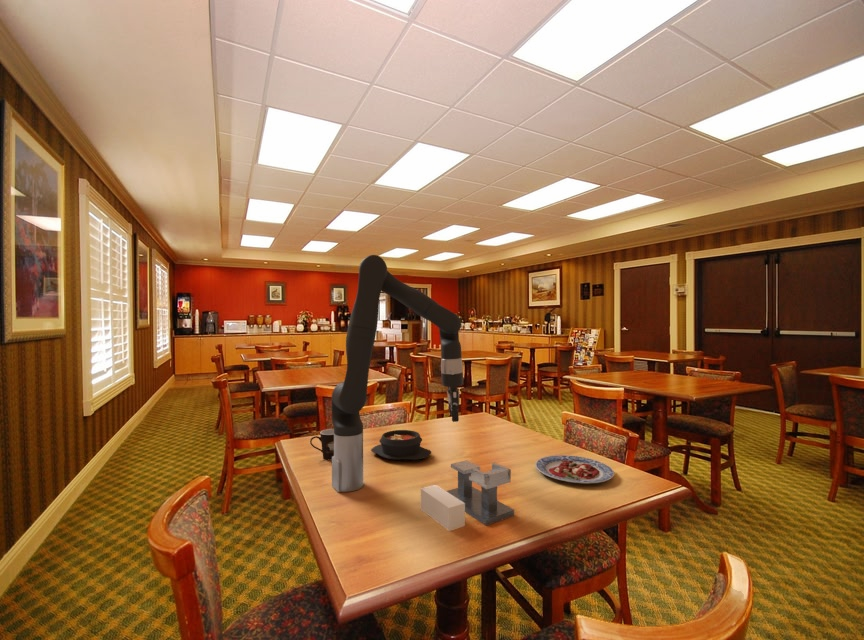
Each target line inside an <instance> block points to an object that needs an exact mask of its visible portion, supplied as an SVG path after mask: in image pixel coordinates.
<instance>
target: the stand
mask: <svg viewBox="0 0 864 640" xmlns="http://www.w3.org/2000/svg"><path fill="white" fill-rule="evenodd" d="M450 468H452V469H454V470H456V471H457V487H456V488H452V489H449V490H445V491H446V492H448V493H450V494H451V495H453V496H454V497H456V498H458V499H459V500H461V501H462V502H464V503H465V514H468V515H469V516H471V517H472V518H474V519H475V520H477V521H478V522H480V523H481V524H483V525H484V526H489V525H492V524H494V522H495V523H497V521H498V522H500V521H502V519H503V520H505V518H506V519H509V518H511V517H514V516H515V509H513V508H512V507H510V506H508V505H506V504H504V503H503V502H501V501H499V500H498V487H500V486H502V485H507V484H510V483H512V480H511V479H512V478H511V477H512V476H511V474H512V472H511V471H512V470H511V468H510V467H509V468H508V467H506V466H504V465H502V464H499V463H497V462H492V463H491V470H487V471H482V470H481V466H480V465H478V464H475V463H474V462H472V461H469V460H462V461H457V462H454V463H450ZM473 483H474V484H476V485H478V486H479V487H480V488H481V489H480V490H479V489H478V488H476V487H474V486H473ZM508 517H509V518H508Z"/></svg>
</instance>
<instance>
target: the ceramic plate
mask: <svg viewBox="0 0 864 640" xmlns="http://www.w3.org/2000/svg"><path fill="white" fill-rule="evenodd" d="M535 468H536V469H537V471H539V472H540V473H541V474H543V475H544V476H547V477H549V478H551V479H555V480H559V481H563V482H568V483H575V484H599V483H604V482H607V481H610V480H612V478H613V477H614V476H615V472H614V470H613V469H612V467H610V466H609V465H607V464H606V463H604V462H601V461H599V460H595V459H593V458H589V457H583V456H578V455H571V454H570V455H569V454H568V455H565V454H559V455H558V454H557V455H556V454H555V455H548V456H544V457H541V458H539V459H538V460H536V462H535Z"/></svg>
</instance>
